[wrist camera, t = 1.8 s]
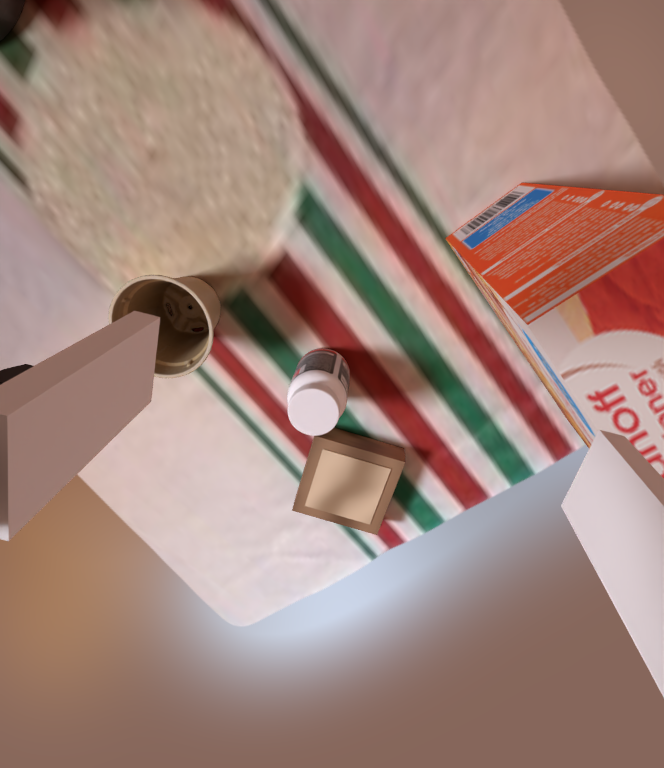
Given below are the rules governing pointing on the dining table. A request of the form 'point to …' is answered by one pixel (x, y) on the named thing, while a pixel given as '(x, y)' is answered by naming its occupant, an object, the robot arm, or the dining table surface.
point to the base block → (349, 480)
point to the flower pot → (173, 318)
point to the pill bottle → (318, 392)
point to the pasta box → (581, 300)
